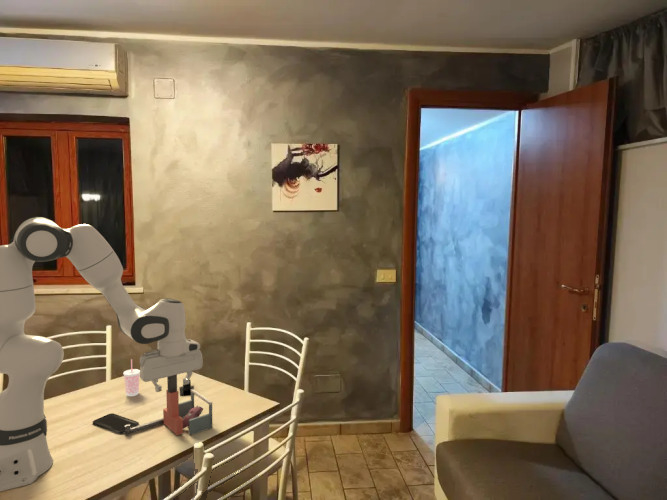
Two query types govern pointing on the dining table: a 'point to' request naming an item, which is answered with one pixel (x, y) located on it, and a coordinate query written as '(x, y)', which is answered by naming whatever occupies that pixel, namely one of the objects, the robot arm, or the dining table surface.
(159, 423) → the rail
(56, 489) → the dining table surface
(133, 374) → the beverage cup
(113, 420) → the phone
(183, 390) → the black piece
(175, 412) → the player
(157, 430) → the dining table surface
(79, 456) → the dining table surface
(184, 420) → the video game controller
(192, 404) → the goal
